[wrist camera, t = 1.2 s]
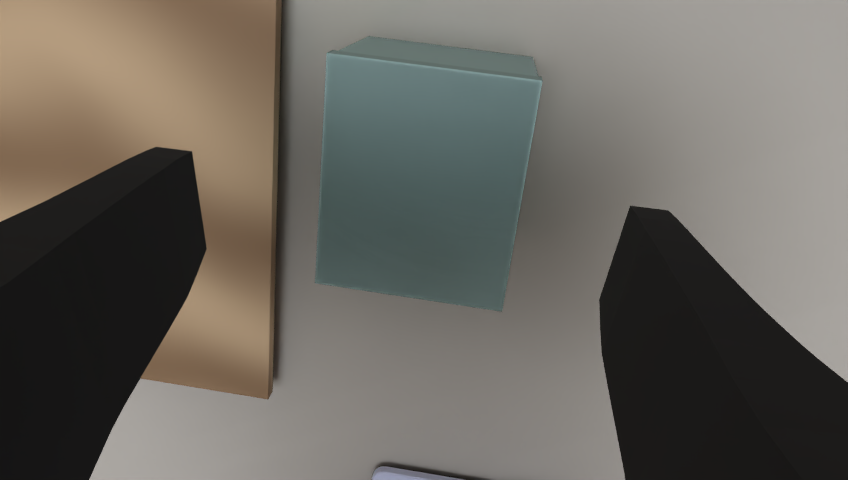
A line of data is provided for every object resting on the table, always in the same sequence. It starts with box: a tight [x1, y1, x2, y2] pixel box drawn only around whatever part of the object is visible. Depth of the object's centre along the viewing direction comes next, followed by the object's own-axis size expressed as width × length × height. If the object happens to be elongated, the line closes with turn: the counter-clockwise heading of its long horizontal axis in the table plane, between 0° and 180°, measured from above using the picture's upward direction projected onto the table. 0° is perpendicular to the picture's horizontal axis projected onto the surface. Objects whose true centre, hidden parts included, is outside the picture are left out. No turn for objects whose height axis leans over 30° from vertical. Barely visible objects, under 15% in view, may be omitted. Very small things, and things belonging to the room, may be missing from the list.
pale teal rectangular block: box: [315, 36, 542, 311], centre depth 19 cm, size 6×5×5 cm
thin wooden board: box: [0, 0, 282, 399], centre depth 22 cm, size 14×10×1 cm
